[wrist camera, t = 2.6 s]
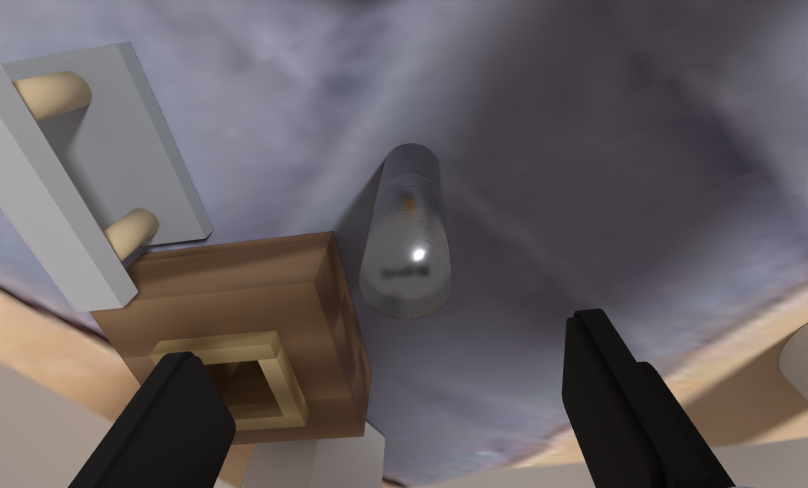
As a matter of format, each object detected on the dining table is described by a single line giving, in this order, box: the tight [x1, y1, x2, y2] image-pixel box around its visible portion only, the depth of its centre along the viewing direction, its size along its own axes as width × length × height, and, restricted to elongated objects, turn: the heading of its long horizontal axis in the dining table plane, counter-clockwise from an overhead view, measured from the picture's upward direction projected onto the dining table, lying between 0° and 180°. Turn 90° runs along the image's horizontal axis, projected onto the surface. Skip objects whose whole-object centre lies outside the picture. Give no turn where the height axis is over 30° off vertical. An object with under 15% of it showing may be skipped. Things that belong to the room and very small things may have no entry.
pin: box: [359, 144, 453, 319], centre depth 17 cm, size 3×3×10 cm
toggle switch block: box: [89, 231, 372, 445], centre depth 25 cm, size 12×12×6 cm
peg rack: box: [0, 42, 213, 312], centre depth 19 cm, size 11×6×6 cm, turn 8°
